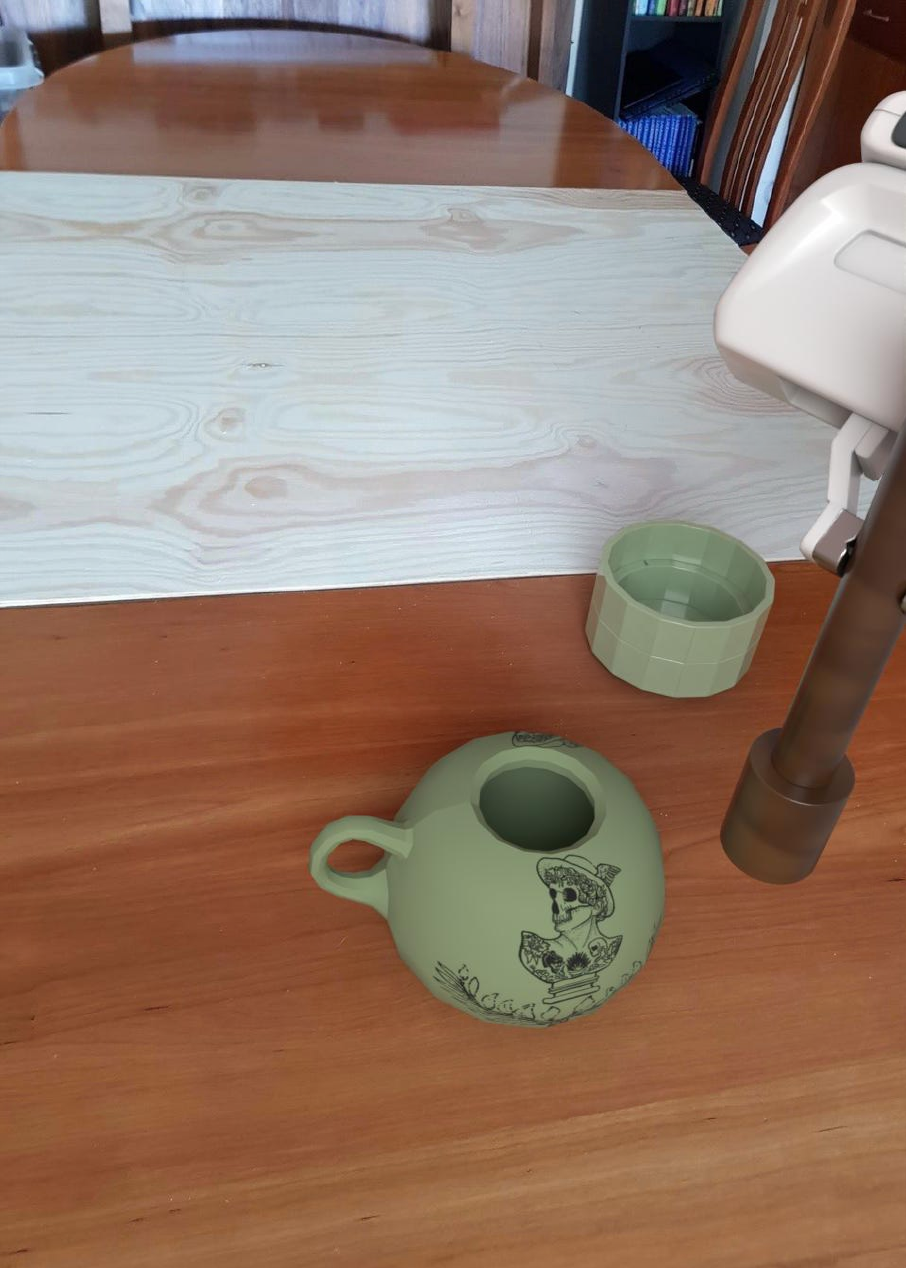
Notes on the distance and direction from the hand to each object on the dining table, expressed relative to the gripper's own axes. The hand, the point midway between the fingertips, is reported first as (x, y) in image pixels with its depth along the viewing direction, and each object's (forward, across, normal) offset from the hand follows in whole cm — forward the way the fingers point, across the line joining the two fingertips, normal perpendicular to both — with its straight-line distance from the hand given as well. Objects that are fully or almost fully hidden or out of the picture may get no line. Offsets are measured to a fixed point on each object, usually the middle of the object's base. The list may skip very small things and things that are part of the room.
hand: (868, 592), depth 34 cm
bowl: (+5, +15, -26) cm, 31 cm away
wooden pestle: (+9, 0, -10) cm, 14 cm away
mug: (+20, +8, -11) cm, 24 cm away
